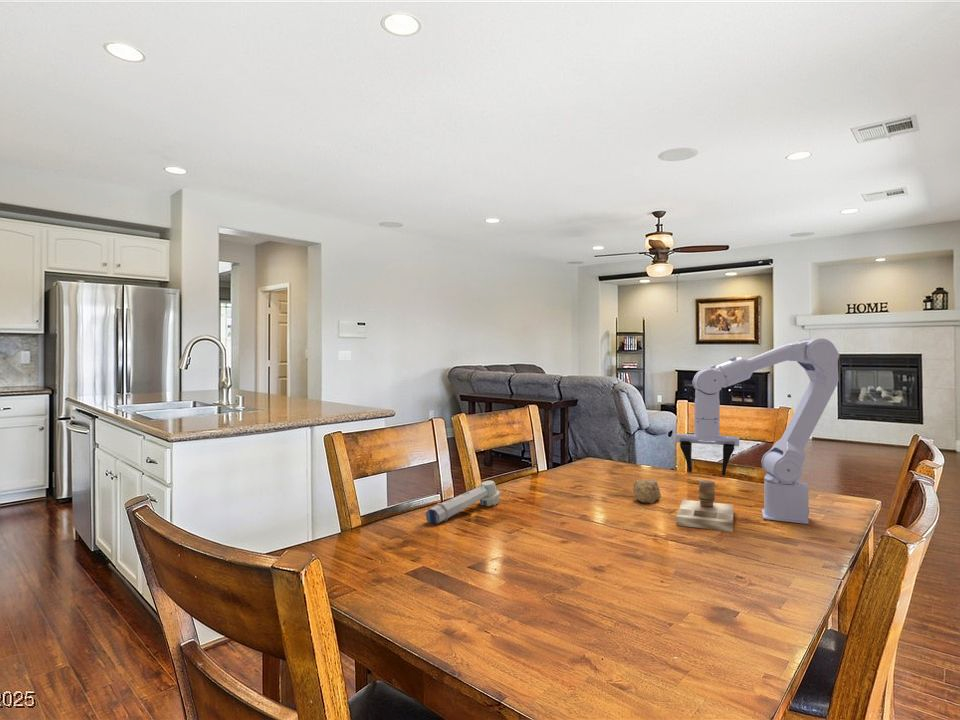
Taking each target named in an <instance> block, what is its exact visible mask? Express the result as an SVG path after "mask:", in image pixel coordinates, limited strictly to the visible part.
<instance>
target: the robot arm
mask: <svg viewBox="0 0 960 720" xmlns="http://www.w3.org/2000/svg"><path fill="white" fill-rule="evenodd" d="M839 358H840V353H839V351H838V350H837V348H836V346H835V345H834V343H833V342H832V341H830V340H828V339H827V338H816V339H815V338H814V339H809V338H804V339H801V340H799V341H793V342H788V343H786V344H782V345H780V346H778V347H777V346H776V347H775V348H773V349H769V350H767V351H766V352H763V353H760V354H757V355H756V356H753V357H750V358H748V359H746V358H744V357H742V356H739V357H736V356H731V357H729V358H728V361H725V362H722V363H719V364H718V365H715V364H712V365H710V366H709V367H710V369H701V370H699V371H697V372H696V373H695V375H694V377H693V379H692V380H691V384H692V387H693V388H694V389H695V392H694V396H695V397H694V434H693V433H676V434H675V443H680V444H679V447H680V449H681V452H682V453H683V456H684V458H685V462H686V464H687V470H688V473H690V474H691V473H692V472H693V462H692V452H693V451H692V450H693V449H692V447H693V444H703V445H704V444H705V445H716V446H717V445H719V446H722V468H721V476H726V471H727V466H728V464H729V462H730V459H731V456H732V454H733V452H734V451H735V447H740V437H739V436H736V437H735V436H726V435H720V424H721V422H720V421H721V419H720V417H721V416H720V413H721V412H720V409H721V408H720V407H721V406H720V405H721V404H720V403H721V402H720V392H721V390H722V388H728V387H730V386H734V385H736V384H738V383H741V382H744V381H746V380H747V381H748V380H749V379H751V377H752V375H753V373H754V372H757V371H759V370H762V369H765V368H768V367H771V366H774V365H777V364H780V363H783V362H786V361H787V362H788V361H789V362H796V363H798V364H799V366H800V367H802V369H804V370H805V372H806V374H807V376H808V379H809V383H808V385H807V387H806V390H805V391H804V393H803V395H802V397H801V399H800V400H799V403H798V405H797V407H796V409H795V411H794V413H793V415H792V417H791V419H790V420H789V422H788V424H787V427H786V428H785V430H784V432H783V434H782V435H781V438H779V439H778V440H777V441H776V442H775V443H774V444H773V445H772V447H771V448H770V449H769V450H768V451H767V452H765V453H764V454H763V455H762V458H761V467H762V469H763V470H764V472H765V475H764V477H763V478H764V481H763V483H764V486H763V487H764V489H763V490H764V494H763V495H764V496H763V499H764V501H763V504H764V508H762V509H761V515H762V519H763V520H769V521H777V522H788V523H796V524H807V525H808V524H809V515H810V507H809V502H810V501H809V499H810V498H809V497H810V495H809V485H808V483H806V482H800V481H799V480H800V478H801V477H802V474H803V464H804V461H805V459H806V454H805V453H806V452H805V447H806V445H807V443H808V442H809V440H810V437H811V436H812V434H813V432H814V430H815V429H816V426H817V424H818V423H819V421H820V418H821V417H822V415H823V413H824V411H825V410H826V409H825V408H826V407H827V405H828V403H829V401H830V400H831V397H832V396H833V393H834V391H835V390H836V388H837V386H838V384H839V382H840V381H839V379H840V378H839V364H838V361H839Z"/></svg>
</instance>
